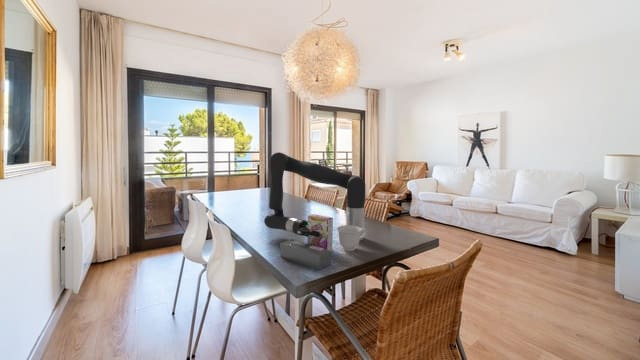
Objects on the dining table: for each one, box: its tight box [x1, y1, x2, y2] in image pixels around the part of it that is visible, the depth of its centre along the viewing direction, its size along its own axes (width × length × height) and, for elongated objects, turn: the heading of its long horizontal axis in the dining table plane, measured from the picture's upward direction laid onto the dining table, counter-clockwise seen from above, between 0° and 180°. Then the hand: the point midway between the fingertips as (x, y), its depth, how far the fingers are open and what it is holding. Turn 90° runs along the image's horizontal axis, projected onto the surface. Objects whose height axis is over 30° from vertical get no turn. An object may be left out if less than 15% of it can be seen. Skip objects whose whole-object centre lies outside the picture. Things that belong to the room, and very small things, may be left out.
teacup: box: [336, 224, 368, 252], centre depth 133 cm, size 12×15×10 cm
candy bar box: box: [306, 213, 334, 254], centre depth 129 cm, size 11×5×16 cm, turn 58°
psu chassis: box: [279, 238, 331, 271], centre depth 119 cm, size 7×22×6 cm, turn 52°
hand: (323, 232), depth 128 cm, fingers open, 6 cm apart
